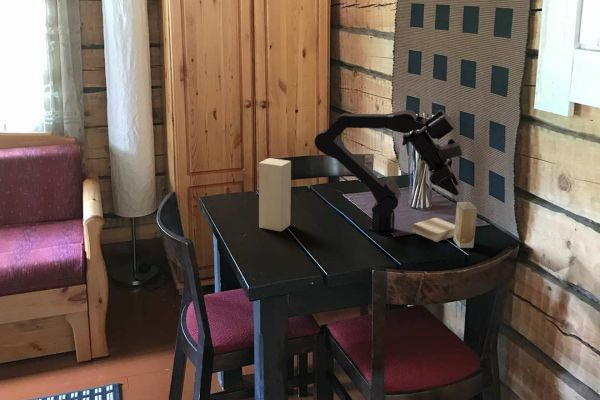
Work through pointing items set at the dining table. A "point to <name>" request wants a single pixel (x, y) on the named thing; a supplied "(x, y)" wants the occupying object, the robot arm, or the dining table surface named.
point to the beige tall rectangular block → (274, 194)
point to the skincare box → (465, 224)
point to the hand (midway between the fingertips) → (457, 189)
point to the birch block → (434, 229)
